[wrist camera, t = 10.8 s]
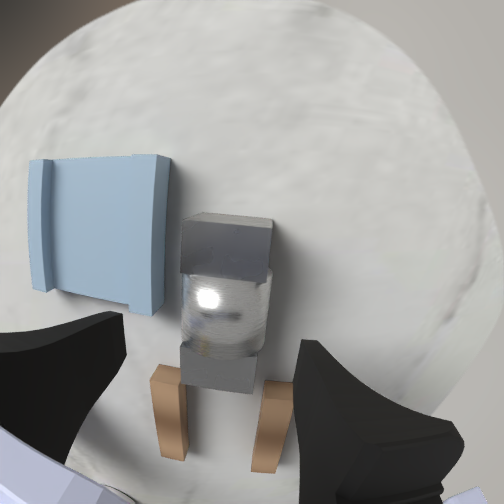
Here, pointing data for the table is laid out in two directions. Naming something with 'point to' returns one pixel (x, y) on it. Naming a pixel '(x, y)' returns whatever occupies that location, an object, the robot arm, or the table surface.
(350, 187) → the table surface
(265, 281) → the silver boxy piece
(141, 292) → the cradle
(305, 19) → the table surface
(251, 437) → the table surface
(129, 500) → the supplement bottle
